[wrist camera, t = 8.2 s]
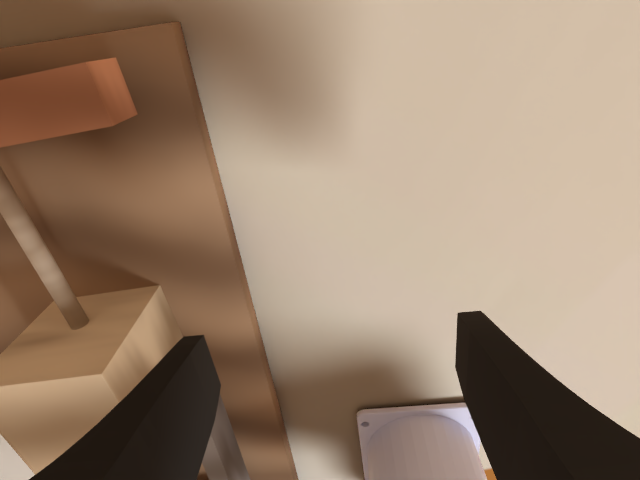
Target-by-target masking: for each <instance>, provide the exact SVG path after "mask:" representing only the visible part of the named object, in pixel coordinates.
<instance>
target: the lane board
mask: <svg viewBox="0 0 640 480" xmlns="http://www.w3.org/2000/svg"><path fill="white" fill-rule="evenodd" d="M115 57H116V59H117V62H118V64H119V67H120V69H121V72H122V75H123V77H124V80H125V82H126V85H127V88H128V90H129V93H130V95H131V98H132V101H133V103H134V106H135V108H136V111H137V115H135V116H133V117H131V118H129V119H127V120H125V121H122V122H120V123H118V124H116V125H114V126H110V127H105V128H100V129H95V130H90V131H84V132H79V133H74V134H69V135H63V136H58V137H53V138H48V139H42V140H37V141H32V142H27V143H22V144H16V145H11V146H6V147H1V148H0V166H1V168H2V170H3V171H4V173H5V175H6V176H7V178H8V180H9V182H10V183H11V185H12V187H13V189H14V190H15V192H16V194H17V196H18V197H19V199H20V201H21V202H22V204H23V206H24V208H25V209H26V211H27V213H28V215H29V216H30V218H31V220H32V222H33V223H34V225H35V227H36V229H37V230H38V232H39V234H40V235H41V237H42V239H43V241H44V242H45V244H46V246H47V248H48V249H49V251H50V253H51V255H52V256H53V258H54V260H55V261H56V263H57V265H58V267H59V268H60V270H61V272H62V274H63V275H64V277H65V279H66V281H67V282H68V284H69V286H70V288H71V289H72V291H73V293H74V294H75V296H76V297H81V296H87V295H94V294H101V293H108V292H115V291H122V290H129V289H136V288H143V287H150V286H157V285H160V286H161V289H162V291H163V293H164V295H165V298H166V300H167V302H168V304H169V306H170V309H171V311H172V313H173V315H174V318H175V320H176V322H177V324H178V327H179V329H180V331H181V333H182V336H183V337H184V336H195V335H204V337H205V340H206V343H207V346H208V348H209V351H210V354H211V357H212V360H213V363H214V366H215V369H216V372H217V374H218V377H219V380H220V383H221V389H220V395H219V401H218V407H217V412H216V417H215V421H214V425H213V428H212V431H211V435H210V438H209V441H208V445H207V448H206V451H205V454H204V457H203V461H202V464H201V467H200V470H199V473H198V477H197V480H298V476H297V473H296V469H295V465H294V461H293V457H292V453H291V449H290V446H289V442H288V438H287V434H286V430H285V426H284V422H283V418H282V415H281V411H280V407H279V403H278V399H277V395H276V391H275V388H274V384H273V380H272V376H271V372H270V368H269V364H268V361H267V357H266V353H265V349H264V345H263V341H262V337H261V333H260V330H259V326H258V322H257V318H256V314H255V310H254V306H253V303H252V299H251V295H250V291H249V287H248V283H247V279H246V276H245V272H244V268H243V264H242V260H241V256H240V252H239V249H238V245H237V241H236V237H235V233H234V229H233V225H232V221H231V218H230V214H229V210H228V206H227V202H226V198H225V194H224V191H223V187H222V183H221V179H220V175H219V171H218V167H217V164H216V160H215V156H214V152H213V148H212V144H211V140H210V136H209V133H208V129H207V125H206V121H205V117H204V113H203V109H202V106H201V102H200V98H199V94H198V90H197V86H196V82H195V79H194V75H193V71H192V67H191V63H190V59H189V55H188V51H187V48H186V44H185V40H184V36H183V32H182V28H181V24H180V22H169V23H163V24H156V25H150V26H143V27H137V28H130V29H123V30H117V31H110V32H104V33H97V34H91V35H84V36H77V37H71V38H64V39H58V40H51V41H45V42H38V43H31V44H25V45H18V46H12V47H5V48H0V80H3V79H8V78H13V77H18V76H22V75H27V74H32V73H37V72H41V71H46V70H51V69H56V68H60V67H65V66H70V65H74V64H79V63H84V62H90V61H96V60H103V59H109V58H115ZM53 301H54V300H53V298H52V297H51V295H50V293H49V292H48V290H47V288H46V287H45V285H44V283H43V282H42V280H41V279H40V277H39V275H38V274H37V272H36V270H35V269H34V267H33V265H32V264H31V262H30V261H29V259H28V257H27V256H26V254H25V252H24V251H23V249H22V247H21V246H20V244H19V243H18V241H17V239H16V238H15V236H14V234H13V233H12V231H11V229H10V228H9V226H8V225H7V223H6V221H5V220H4V218H3V216H2V215H1V213H0V354H1V353H2V352H3V351H4V350H5V349H6V348H7V347H8V346H9V345H10V344H11V343H12V342H13V341H14V340H15V339H16V338H17V337H18V336H19V335H20V334H21V333H22V332H23V331H24V330H25V329H26V328H27V327H28V326H29V325H30V324H31V323H32V322H33V321H34V320H35V319H36V318H37V317H38V316H39V315H40V314H41V313H42V312H43V311H44V310H45V309H46V308H47V307H48V306H49V305H50V304H51V303H52V302H53Z"/></svg>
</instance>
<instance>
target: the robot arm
mask: <svg viewBox="0 0 640 480" xmlns="http://www.w3.org/2000/svg"><path fill="white" fill-rule="evenodd" d="M455 368H456V371H457V375H458V379H459V382H460V386H461V389H462V393H463V396H464V400H465V403H450V404H435V405H421V406H406V407H391V408H377V409H363V410H360V411H358V413H357V424H358V431H359V439H360V447H361V455H362V463H363V470H364V478H365V480H487V478H486V475H485V472H484V469H483V466H482V463H481V461H480V458H479V449H480V440H481V442H482V445H483V447H484V450H485V452H486V454H487V457H488V459H489V462H490V464H491V467H492V469H493V471H494V474H495V476H496V479H497V480H640V438H638V437H637V436H635V435H634V434H632V433H631V432H629V431H627V430H626V429H624V428H623V427H621V426H620V425H618V424H617V423H615V422H614V421H613V420H611V419H610V418H608V417H607V416H605V415H604V414H602V413H601V412H599V411H598V410H597V409H595V408H594V407H592V406H591V405H589V404H588V403H587V402H585V401H584V400H583V399H581V398H580V397H579V396H577V395H576V394H575V393H573V392H572V391H571V390H570V389H568V388H567V387H566V386H565V385H563V384H562V383H561V382H560V381H558V380H557V379H556V378H555V377H553V376H552V375H551V374H550V373H549V372H547V371H546V370H545V369H544V368H543V367H541V366H540V365H539V364H538V363H537V362H536V361H535V360H533V359H532V358H531V357H530V356H529V355H528V354H526V353H525V352H524V351H523V350H522V349H521V348H520V347H519V346H518V345H516V344H515V343H514V342H513V341H512V340H511V339H510V338H509V337H508V336H507V335H506V334H505V333H504V332H503V331H501V330H500V329H499V328H498V327H497V326H496V325H495V324H494V323H493V322H492V321H491V320H490V319H489V318H488V317H487V316H486V315H485V314H484V313H482V312H481V311H473V312H462V313H458V317H457V341H456V365H455ZM220 389H221V383H220V380H219V377H218V374H217V372H216V369H215V366H214V363H213V360H212V357H211V354H210V351H209V348H208V346H207V343H206V340H205V337H204V335H195V336H184V337H183V338H182V339H180V340H179V341H178V342H177V343H176V345H175V346H174V347H173V348H172V349H171V350H170V351H169V352H168V353H167V354H166V355H165V356H164V357H163V358H162V359H161V360H160V361H159V363H158V364H157V365H156V366H155V367H154V368H153V369H152V370H151V371H150V372H149V373H148V374H147V375H146V376H145V377H144V378H143V379H142V380H141V381H140V382H139V383H138V384H137V385H136V387H135V388H134V389H133V390H132V391H131V392H130V393H129V394H128V395H127V396H126V397H125V398H124V399H122V400H121V401H120V402H119V403H118V404H117V405H116V406H115V407H114V408H113V409H112V410H111V411H110V412H109V413H108V414H107V415H106V416H105V417H104V418H103V419H102V420H101V421H100V422H99V423H97V424H96V425H95V426H94V427H93V428H92V429H91V430H90V431H89V432H87V433H86V434H85V435H84V436H83V437H82V438H81V439H79V440H78V441H77V442H76V443H75V444H73V445H72V446H71V447H70V448H69V449H67V450H66V451H65V452H64V453H63V454H62V455H60V456H59V457H58V458H57V459H55V460H54V461H53V462H52V463H50V464H49V465H48V466H46V467H45V468H44V469H42V470H41V471H40V472H38V473H37V474H36V475H34V476H33V477H32V478H30V479H29V480H197V477H198V473H199V470H200V467H201V464H202V461H203V457H204V454H205V451H206V448H207V445H208V441H209V438H210V435H211V431H212V428H213V425H214V421H215V417H216V412H217V407H218V401H219V395H220Z"/></svg>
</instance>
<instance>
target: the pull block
mask: <svg viewBox="0 0 640 480" xmlns="http://www.w3.org/2000/svg"><path fill="white" fill-rule="evenodd" d="M135 115H137V111H136V108H135V106H134V103H133V101H132V98H131V95H130V93H129V90H128V88H127V85H126V82H125V80H124V77H123V75H122V72H121V69H120V67H119V64H118V62H117V59H116V57H115V58H109V59H103V60H96V61H90V62H84V63H79V64H74V65H70V66H65V67H60V68H56V69H51V70H46V71H41V72H37V73H32V74H27V75H22V76H18V77H13V78H8V79H3V80H0V148H1V147H6V146H11V145H16V144H22V143H27V142H32V141H37V140H42V139H48V138H53V137H58V136H63V135H69V134H74V133H79V132H84V131H90V130H95V129H100V128H105V127H110V126H114V125H116V124H118V123H120V122H122V121H125V120H127V119H129V118H131V117H133V116H135ZM0 213H1V215H2V216H3V218H4V220H5V221H6V223H7V225H8V226H9V228H10V229H11V231H12V233H13V234H14V236H15V238H16V239H17V241H18V243H19V244H20V246H21V247H22V249H23V251H24V252H25V254H26V256H27V257H28V259H29V261H30V262H31V264H32V265H33V267H34V269H35V270H36V272H37V274H38V275H39V277H40V279H41V280H42V282H43V283H44V285H45V287H46V288H47V290H48V292H49V293H50V295H51V297H52V298H53V300H54V301H53V302H52V303H51V304H50V305H49V306H48V307H47V308H46V309H45V310H44V311H43V312H42V313H41V314H40V315H39V316H38V317H37V318H36V319H35V320H34V321H33V322H32V323H31V324H30V325H29V326H28V327H27V328H26V329H25V330H24V331H23V332H22V333H21V334H20V335H19V336H18V337H17V338H16V339H15V340H14V341H13V342H12V343H11V344H10V345H9V346H8V347H7V348H6V349H5V350H4V351H3V352H2V353H1V354H0V434H1V435H2V436H3V437H4V438H5V440H6V441H7V442H8V443H9V444H10V445H11V447H12V448H13V449H14V450H15V451H16V452H17V454H18V455H19V456H20V457H21V458H22V460H23V461H24V462H25V463H26V464H27V465H28V467H29V468H30V469H31V470H32V471H33V472H34V474H35V475H36V474H37V473H38V472H40V471H41V470H42V469H44V468H45V467H46V466H48V465H49V464H50V463H52V462H53V461H54V460H55V459H57V458H58V457H59V456H60V455H62V454H63V453H64V452H65V451H66V450H67V449H69V448H70V447H71V446H72V445H73V444H75V443H76V442H77V441H78V440H79V439H81V438H82V437H83V436H84V435H85V434H86V433H87V432H89V431H90V430H91V429H92V428H93V427H94V426H95V425H96V424H97V423H99V422H100V421H101V420H102V419H103V418H104V417H105V416H106V415H107V414H108V413H109V412H110V411H111V410H112V409H113V408H114V407H115V406H116V405H117V404H118V403H119V402H120V401H121V400H122V399H124V398H125V397H126V396H127V395H128V394H129V393H130V392H131V391H132V390H133V389H134V388H135V387H136V385H137V384H138V383H139V382H140V381H141V380H142V379H143V378H144V377H145V376H146V375H147V374H148V373H149V372H150V371H151V370H152V369H153V368H154V367H155V366H156V365H157V364H158V363H159V361H160V360H161V359H162V358H163V357H164V356H165V355H166V354H167V353H168V352H169V351H170V350H171V349H172V348H173V347H174V346H175V345H176V343H177V342H178V341H179V340H180V339H182V338H183V336H182V333H181V331H180V329H179V327H178V324H177V322H176V320H175V318H174V315H173V313H172V311H171V309H170V306H169V304H168V302H167V300H166V298H165V295H164V293H163V291H162V289H161V286H160V285H157V286H150V287H143V288H136V289H129V290H122V291H115V292H108V293H101V294H94V295H87V296H81V297H76V296H75V294H74V293H73V291H72V289H71V288H70V286H69V284H68V282H67V281H66V279H65V277H64V275H63V274H62V272H61V270H60V268H59V267H58V265H57V263H56V261H55V260H54V258H53V256H52V255H51V253H50V251H49V249H48V248H47V246H46V244H45V242H44V241H43V239H42V237H41V235H40V234H39V232H38V230H37V229H36V227H35V225H34V223H33V222H32V220H31V218H30V216H29V215H28V213H27V211H26V209H25V208H24V206H23V204H22V202H21V201H20V199H19V197H18V196H17V194H16V192H15V190H14V189H13V187H12V185H11V183H10V182H9V180H8V178H7V176H6V175H5V173H4V171H3V170H2V168H1V166H0Z"/></svg>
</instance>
